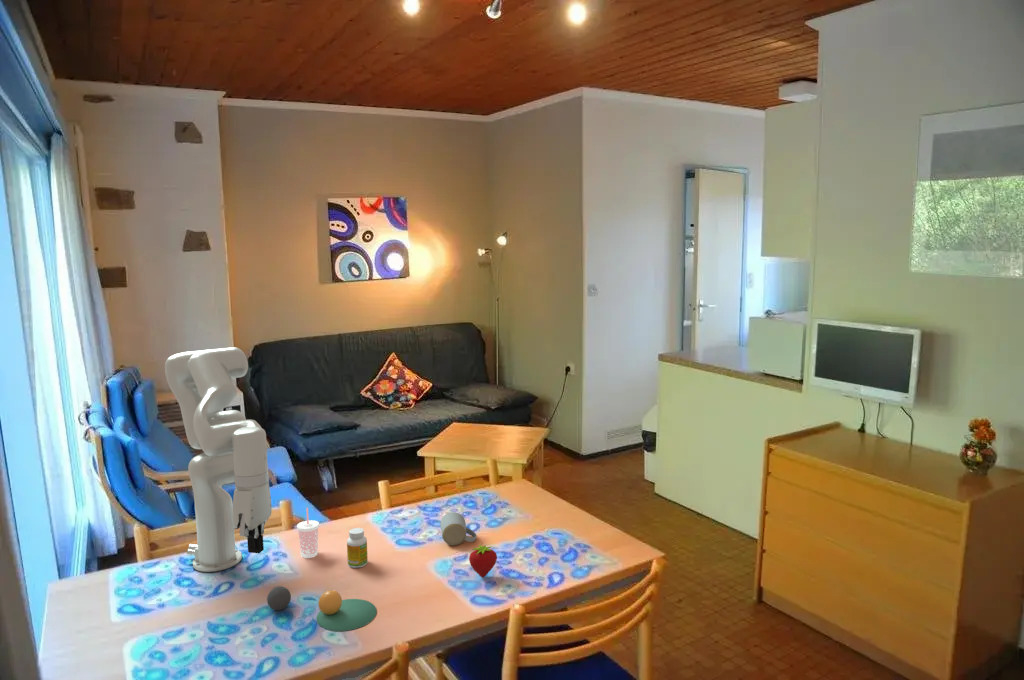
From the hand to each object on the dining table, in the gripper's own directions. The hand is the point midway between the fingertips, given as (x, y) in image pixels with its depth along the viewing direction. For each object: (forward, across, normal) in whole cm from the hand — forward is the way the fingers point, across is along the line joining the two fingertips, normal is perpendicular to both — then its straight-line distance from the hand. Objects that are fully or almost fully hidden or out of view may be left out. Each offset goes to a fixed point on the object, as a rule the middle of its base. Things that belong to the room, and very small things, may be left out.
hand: (255, 551), depth 165 cm
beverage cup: (+14, -28, -1) cm, 31 cm away
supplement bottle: (+14, -25, +15) cm, 32 cm away
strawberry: (+14, -24, +51) cm, 58 cm away
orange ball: (+11, 0, +19) cm, 22 cm away
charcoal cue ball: (+11, 0, +6) cm, 13 cm away
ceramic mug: (+14, -45, +38) cm, 61 cm away
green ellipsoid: (+14, 0, +23) cm, 27 cm away
